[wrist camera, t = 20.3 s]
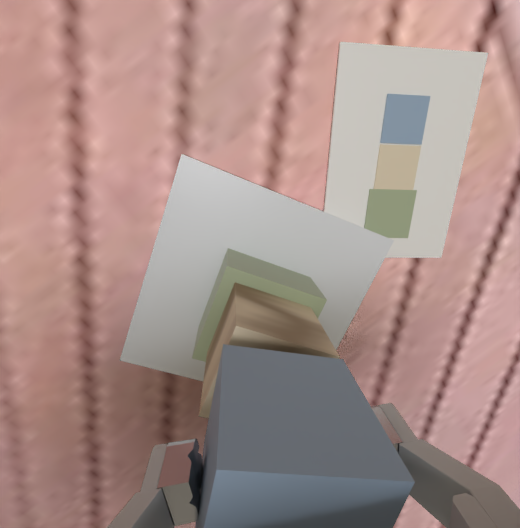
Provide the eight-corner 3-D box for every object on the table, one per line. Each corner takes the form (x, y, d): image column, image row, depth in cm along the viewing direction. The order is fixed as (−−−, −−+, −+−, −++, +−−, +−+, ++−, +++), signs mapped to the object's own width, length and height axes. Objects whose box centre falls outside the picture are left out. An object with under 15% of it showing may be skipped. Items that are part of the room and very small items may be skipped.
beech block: (207, 352, 18) (198, 416, 13) (234, 281, 17) (236, 325, 12) (279, 372, 19) (295, 438, 14) (311, 307, 18) (339, 356, 13)
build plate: (125, 351, 23) (96, 399, 18) (184, 154, 19) (168, 149, 14) (302, 397, 27) (318, 449, 22) (385, 236, 22) (429, 255, 18)
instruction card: (319, 256, 22) (320, 257, 22) (339, 43, 18) (341, 41, 18) (439, 256, 23) (442, 257, 23) (485, 53, 19) (489, 52, 19)
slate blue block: (204, 442, 13) (187, 603, 8) (223, 344, 11) (216, 469, 7) (312, 450, 13) (355, 602, 9) (342, 359, 12) (414, 482, 7)
